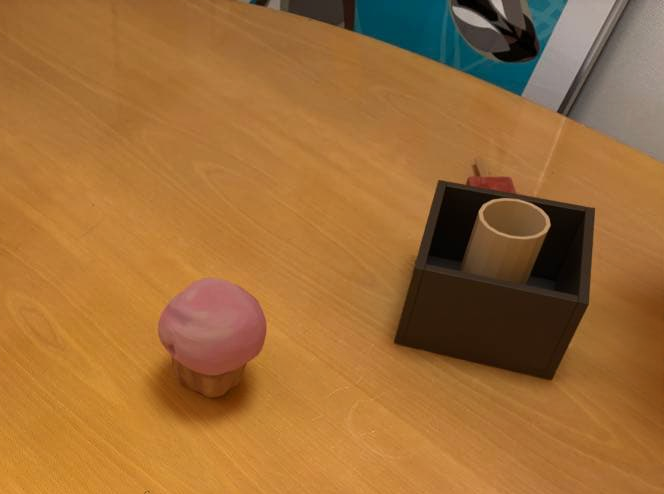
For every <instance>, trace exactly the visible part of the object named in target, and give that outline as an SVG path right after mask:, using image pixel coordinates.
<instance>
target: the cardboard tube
mask: <svg viewBox="0 0 664 494" xmlns="http://www.w3.org/2000/svg"><path fill="white" fill-rule="evenodd" d="M550 226H551V224H550V219H549V217H548V215H547V214H546V213H545V212H544V211H543V210H542V209H540V208H539V207H537V206H535V205H534V204H532V203H529V202H526V201H522V200H519V199H510V198H501V199H494V200H491V201H489V202H487V203H485V204H483V205H482V207H481V208H480V210H479V212H478V215H477V218H476V221H475V224H474V227H473V230H472V233H471V236H470V239H469V243H468V246H467V249H466V252H465V255H464V258H463V261H462V264H461V267H460V270H459V271H461V272H466V273H470V274H475V275H480V276H485V277H490V278H495V279H499V280H504V281H509V282H514V283H519V284H523V285H527V283H528V280H529V278H530V275H531V273H532V270H533V268H534V265H535V263H536V260H537V258H538V256H539V253H540V251H541V248H542V246H543V243H544V241H545V238H546V236H547V233H548V231H549V229H550Z"/></svg>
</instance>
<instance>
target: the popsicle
mask: <svg viewBox="0 0 664 494" xmlns="http://www.w3.org/2000/svg"><path fill="white" fill-rule="evenodd" d="M474 162H475V165H476V167H477V168H476V169H477V170H478V174H479V176H477V175H476V176H468V177H467V179H466V183H465V185H470V186H476V187H481V188H487V189H492V190H498V191H503V192H509V193H514V194H517V192H516V188H515V185H514V182H513V180H512V177H511V176H491V174H490V171H489V169H488V166H487V163H486V161H485V158H484V157H483V156H481V155H475V156H474Z"/></svg>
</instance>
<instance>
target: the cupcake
mask: <svg viewBox="0 0 664 494" xmlns="http://www.w3.org/2000/svg"><path fill="white" fill-rule="evenodd" d="M157 334H158V338H159V341H160V344H162V346H163V348H164V349H165V350H166V351H167V353H168V354H169V355H170V356H171V361H172V362H171V363H172V364H171V365H172V371H173V374H174V378H175V380H176V381H177V382H178V383H179V384H180V385H181V386H183V387H185V388H187V389H188V390H192V391H195V392H197V393H199V394H201V395H203V396H204V397H205V398H211V399H213V398H218V397H222V396H224V395H225V394H226V393H227V391H229V390H230V389H232V388H234V387H236V386H237V385H238V384H239V383H240V381H241V379H242V377H243V374H244V372H245V369H246V367H247V365H248V363H249V362H251V361H252V360H254V359H255V358H256V357H258V356H259V355H260V353H261V352H262V350H263V347H264V345H265V341H266V337H267V319H266V317H265V313H264V311H263V308H262V307H261V304H260V302H259V300H257V298H256V297H255V296H254V295H253V294H251V293H250V292H249V291H247V290H246V289H245V288H243V287H242V286H240V285H238V284H236V283H233V282H231V281H229V280H226V279H223V278H218V277H204V278H200V279H198V280H195V281H194V282H193V283H191V284H190V285H188V286H187V287H186V288H185V289H183V290H182V291H181V292H179V293H177V294H176V295H174V296H173V297H172V298H171V299H170V300H169V302H168V303H167V304H166V306H165V307H164V308H163V310H162V312H161V314H160V317H159V319H158V323H157Z"/></svg>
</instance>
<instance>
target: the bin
mask: <svg viewBox="0 0 664 494" xmlns="http://www.w3.org/2000/svg"><path fill="white" fill-rule="evenodd" d="M501 198H510V199H519V200H522V201H526V202H529V203H532V204H534V205H535V206H537V207H539V208H540V209H542V210H543V211H544V212H545V213H546V214H547V215H548V217H549V219H550V224H551V226H550V229H549V231H548V233H547V236H546V238H545V241H544V243H543V246H542V248H541V251H540V253H539V256H538V258H537V260H536V263H535V265H534V268H533V270H532V273H531V275H530V278H529V280H528V283H527V285H523V284H519V283H514V282H509V281H504V280H499V279H495V278H490V277H485V276H480V275H475V274H470V273H466V272H461V271H459V270H460V267H461V264H462V261H463V258H464V255H465V252H466V249H467V246H468V243H469V239H470V236H471V233H472V230H473V227H474V224H475V221H476V218H477V215H478V212H479V210H480V208H481V207H482V205H483V204H485V203H487V202H489V201H491V200H494V199H501ZM595 218H596V207H591V206H585V205H581V204H579V205H578V204H574V203H569V202H564V201H558V200H552V199H547V198H541V197H536V196H531V195H525V194H519V193H516V194H514V193H509V192H503V191H498V190H492V189H487V188H481V187H476V186H470V185H466V183H465V184H464V183H459V182H453V181H447V180H443V179H438V180H437V183H436V187H435V190H434V195H433V198H432V202H431V204H430V210H429V212H428V217H427V219H426V222H425V223H426V224H425V227H424V231H423V234H422V238H421V240H420V245H419V249H418V251H417V255H416V260H415V263H414V267H413V269H412V270H413V271H412V274H411V278H410V281H409V285H408V288H407V292H406V296H405V298H404V299H405V300H404V303H403V307H402V309H401V310H402V311H401V314H400V318H399V321H398V325H397V328H396V333H395V335H394V340H393V344H395V345H399V346H404V347H407V348H412V349H416V350H420V351H425V352H429V353H433V354H438V355H441V356H447V357H450V358H455V359H459V360H464V361H468V362H473V363H477V364H481V365H486V366H490V367H493V368H498V369H502V370H507V371H511V372H515V373H520V374H524V375H528V376H531V377H537V378H541V379H544V380H549V381H552V380H554V377H555V374H556V373H557V370H558V369H559V367H560V365H561V362H562V360H563V359H564V357H565V354H566V352H567V350H568V348H569V346H570V345H571V342H572V341H573V339H574V336H575V333H576V332H577V330H578V327H579V325H580V324H581V322H582V319H583V317H584V315H585V313H586V311H587V309H588V307H589V305H590V295H591V294H590V293H591V292H590V291H591V279H592V265H593V264H592V263H593V249H594V233H595V220H596V219H595Z"/></svg>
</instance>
